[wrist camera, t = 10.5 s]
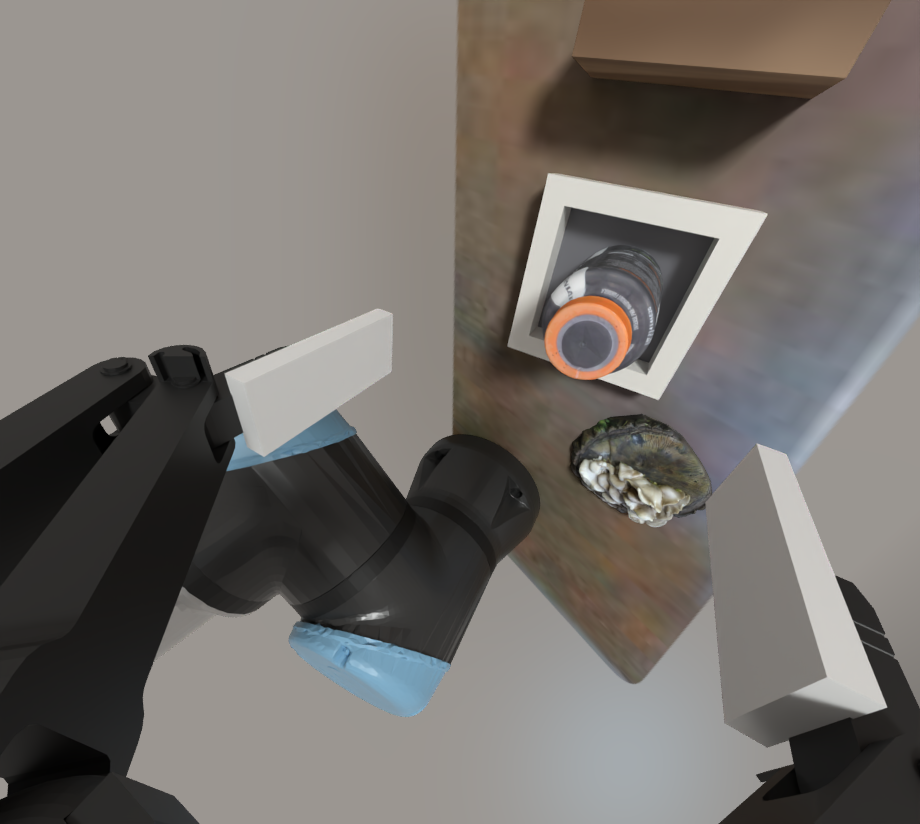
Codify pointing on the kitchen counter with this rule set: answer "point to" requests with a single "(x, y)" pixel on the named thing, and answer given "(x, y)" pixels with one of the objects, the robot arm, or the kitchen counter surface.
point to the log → (641, 469)
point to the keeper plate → (648, 228)
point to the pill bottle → (603, 313)
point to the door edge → (727, 42)
